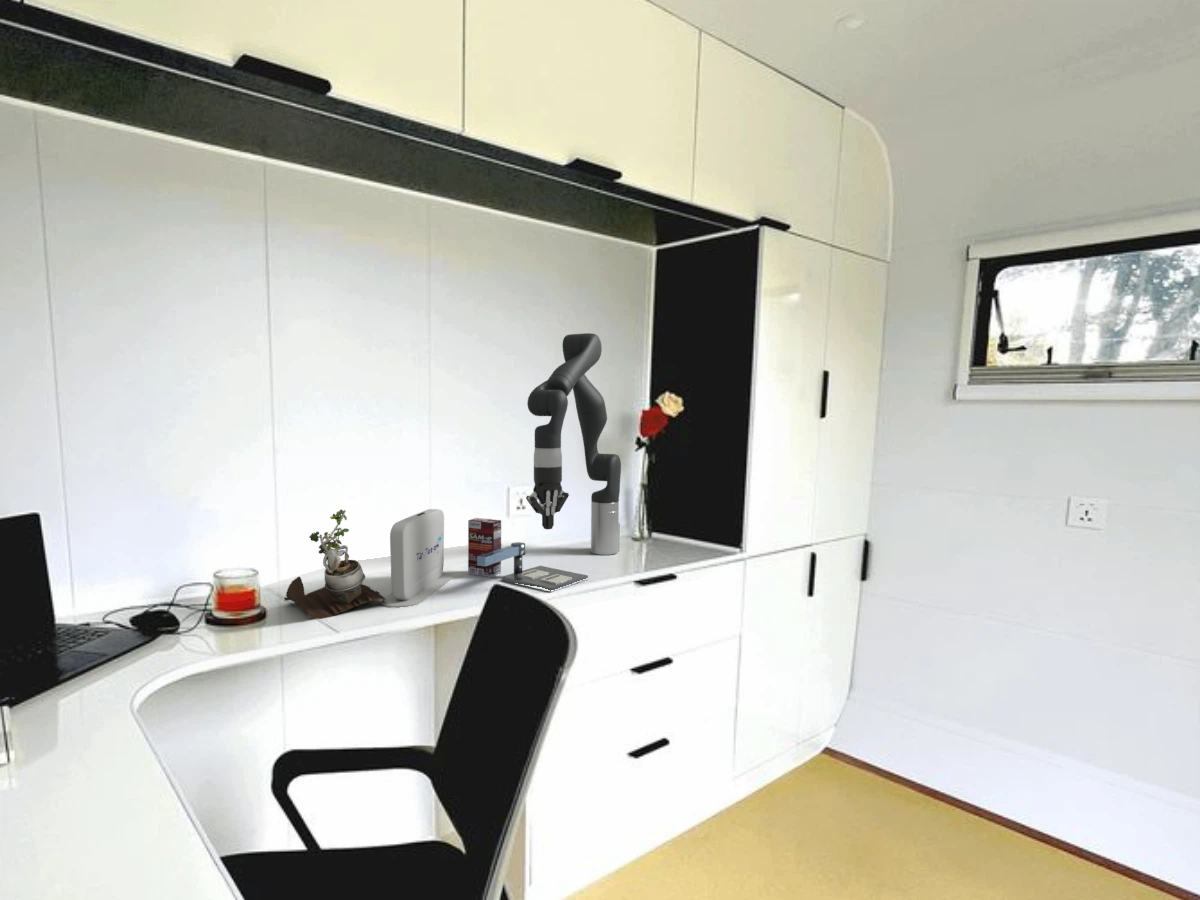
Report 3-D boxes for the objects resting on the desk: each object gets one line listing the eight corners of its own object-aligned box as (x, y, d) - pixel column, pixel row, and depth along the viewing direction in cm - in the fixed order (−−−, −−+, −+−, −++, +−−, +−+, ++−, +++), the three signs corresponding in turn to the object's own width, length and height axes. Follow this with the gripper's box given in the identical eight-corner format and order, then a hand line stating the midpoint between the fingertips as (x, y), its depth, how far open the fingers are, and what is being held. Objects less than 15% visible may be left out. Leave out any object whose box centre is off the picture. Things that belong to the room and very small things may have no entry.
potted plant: (394, 611, 155) (373, 521, 145) (317, 650, 143) (289, 554, 133) (358, 581, 168) (337, 497, 159) (285, 615, 156) (258, 526, 147)
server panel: (538, 569, 190) (538, 548, 189) (587, 579, 178) (588, 558, 178) (499, 580, 177) (499, 558, 176) (550, 592, 166) (550, 569, 165)
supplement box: (467, 574, 183) (467, 520, 182) (476, 570, 187) (476, 517, 186) (493, 577, 179) (493, 522, 179) (501, 573, 184) (502, 519, 183)
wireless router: (414, 608, 151) (413, 525, 150) (374, 607, 152) (373, 524, 151) (457, 575, 182) (457, 506, 181) (424, 573, 183) (423, 505, 182)
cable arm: (516, 552, 183) (516, 541, 183) (527, 553, 181) (527, 543, 181) (475, 566, 166) (475, 554, 166) (487, 567, 164) (487, 556, 164)
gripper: (559, 462, 176) (559, 523, 177) (519, 465, 168) (519, 529, 169) (576, 464, 170) (575, 527, 172) (535, 467, 162) (535, 534, 163)
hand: (547, 528), depth 170 cm, fingers closed
